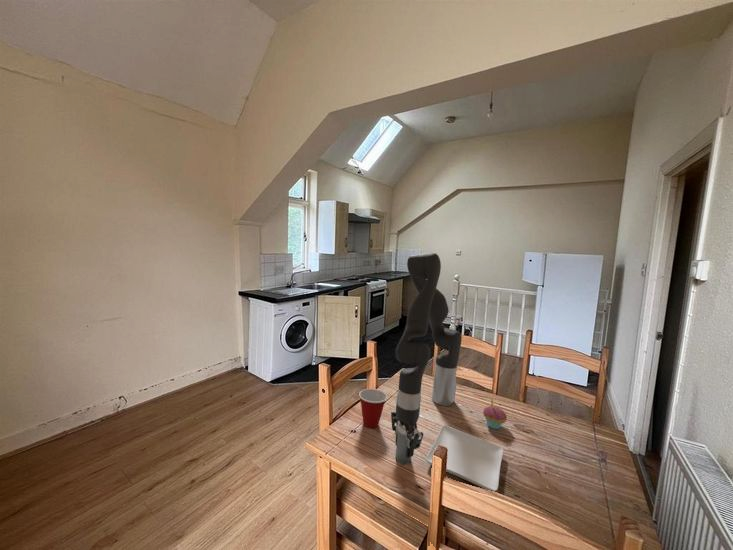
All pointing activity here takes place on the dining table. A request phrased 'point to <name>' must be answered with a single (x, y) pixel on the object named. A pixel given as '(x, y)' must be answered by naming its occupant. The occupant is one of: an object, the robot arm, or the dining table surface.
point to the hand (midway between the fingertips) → (403, 450)
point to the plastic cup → (372, 406)
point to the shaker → (402, 446)
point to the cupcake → (494, 416)
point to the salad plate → (470, 457)
